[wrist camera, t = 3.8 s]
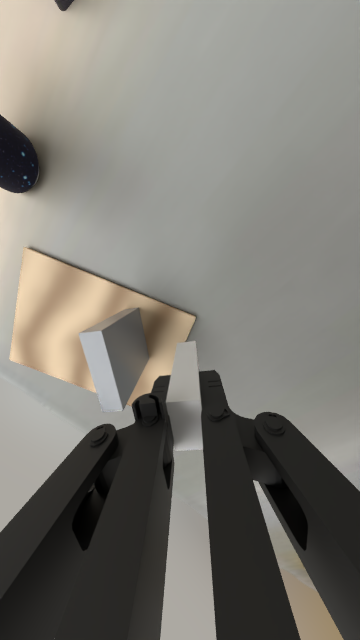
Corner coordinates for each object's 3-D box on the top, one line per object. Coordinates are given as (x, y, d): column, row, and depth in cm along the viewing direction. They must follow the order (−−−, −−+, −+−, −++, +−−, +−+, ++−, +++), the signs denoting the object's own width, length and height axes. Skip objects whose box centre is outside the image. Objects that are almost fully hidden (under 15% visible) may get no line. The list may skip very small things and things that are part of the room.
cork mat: (195, 316, 21) (196, 317, 21) (153, 411, 26) (152, 414, 25) (28, 247, 21) (23, 247, 20) (13, 357, 25) (9, 359, 24)
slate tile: (139, 307, 21) (101, 330, 12) (149, 358, 23) (123, 410, 14) (125, 309, 21) (78, 333, 12) (136, 359, 23) (102, 412, 14)
